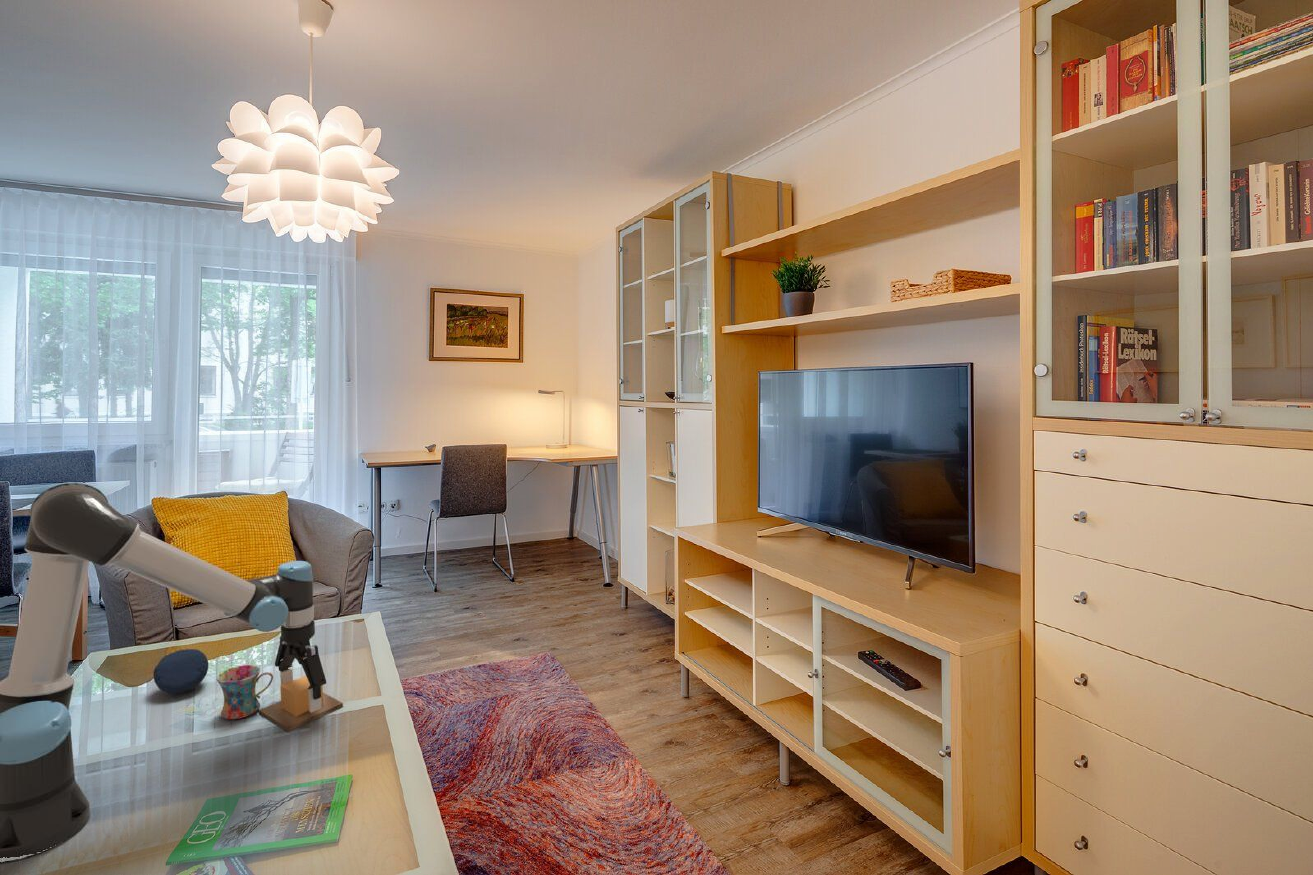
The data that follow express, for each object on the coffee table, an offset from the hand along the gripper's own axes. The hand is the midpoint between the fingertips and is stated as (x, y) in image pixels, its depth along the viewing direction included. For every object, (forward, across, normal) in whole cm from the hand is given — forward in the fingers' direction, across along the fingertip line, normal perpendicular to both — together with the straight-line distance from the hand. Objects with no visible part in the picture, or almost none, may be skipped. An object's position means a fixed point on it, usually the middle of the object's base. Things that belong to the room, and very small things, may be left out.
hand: (301, 701), depth 164 cm
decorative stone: (+2, +36, +13) cm, 38 cm away
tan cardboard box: (+1, 0, 0) cm, 1 cm away
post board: (+2, 0, 0) cm, 2 cm away
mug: (+2, +11, +8) cm, 14 cm away
